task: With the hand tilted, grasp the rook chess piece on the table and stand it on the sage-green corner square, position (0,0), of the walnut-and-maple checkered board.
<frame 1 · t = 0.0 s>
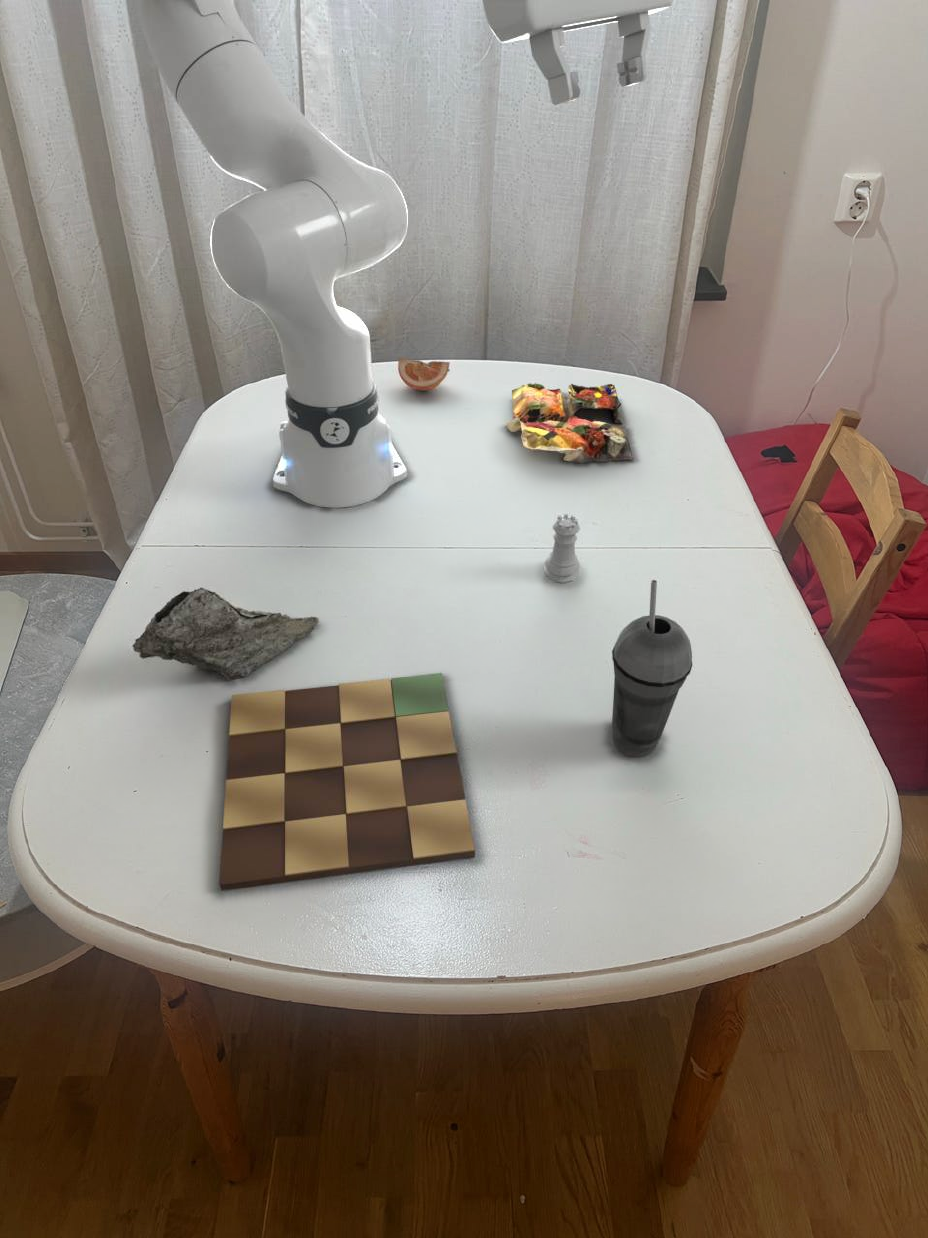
hand: (601, 92, 68), 52 cm above the table, tool tilted 20°, fingers open, 8 cm apart
beverage cup: (634, 740, 86), on the table
rook chess piece: (561, 574, 105), on the table
concrete fragment: (236, 657, 94), on the table
food: (564, 429, 132), on the table
fruit slice: (424, 390, 142), on the table
board: (344, 773, 82), on the table
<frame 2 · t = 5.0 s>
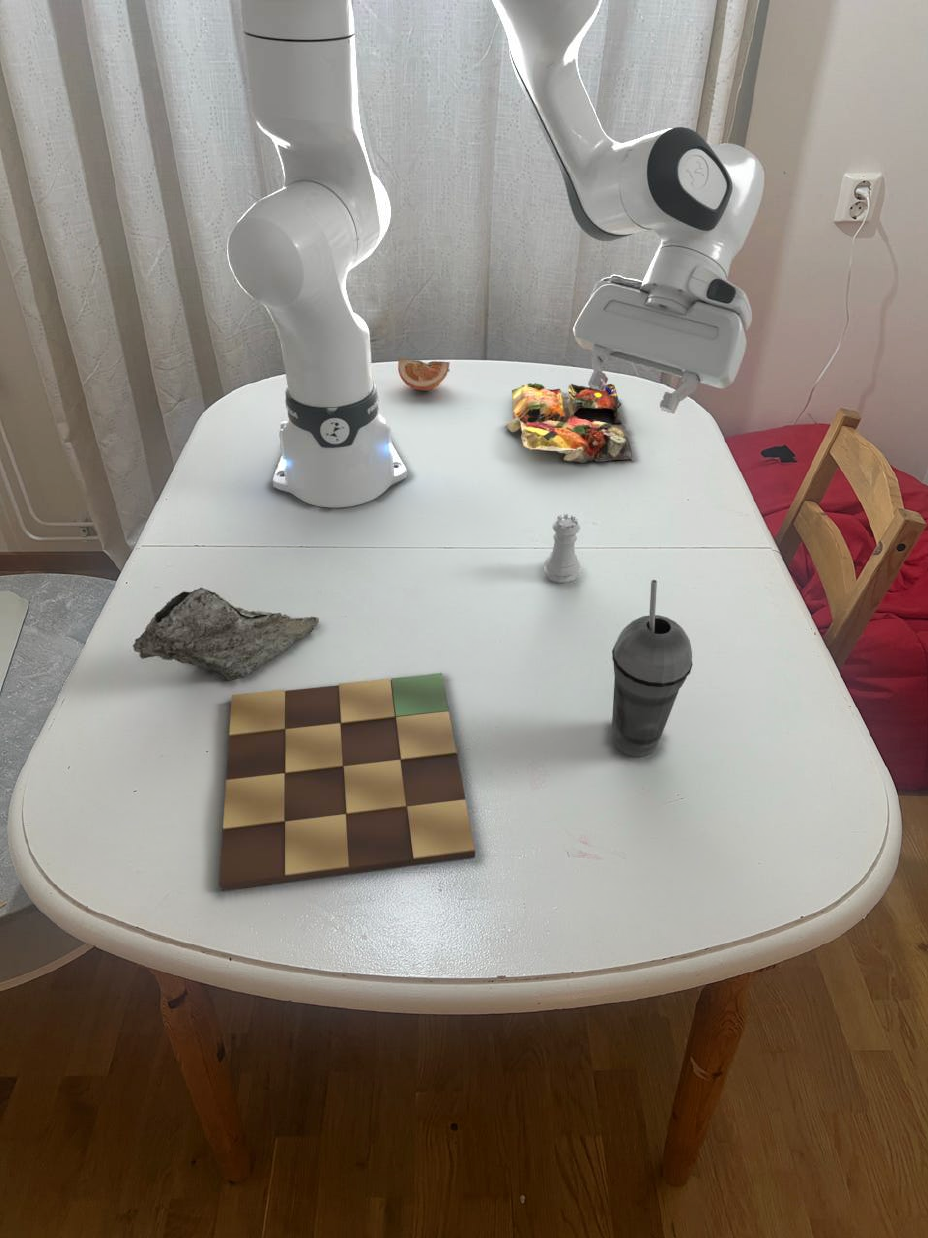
hand: (629, 399, 100), 18 cm above the table, tool tilted 45°, fingers open, 8 cm apart
nothing on the table moved.
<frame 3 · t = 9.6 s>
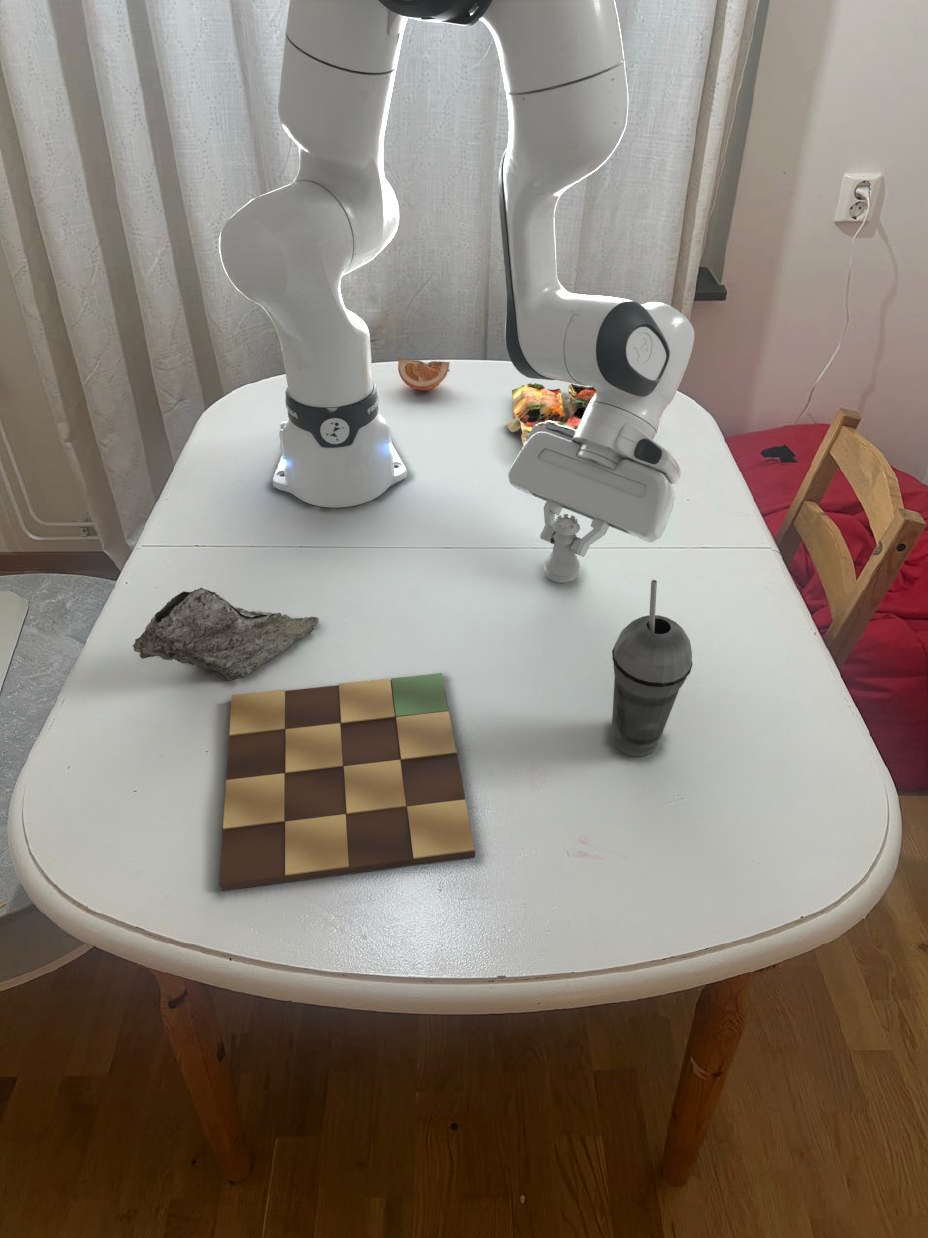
hand: (561, 547, 102), 4 cm above the table, tool tilted 45°, fingers closed on rook chess piece, 3 cm apart
rook chess piece: (561, 574, 105), on the table, touching gripper
everything else where it was.
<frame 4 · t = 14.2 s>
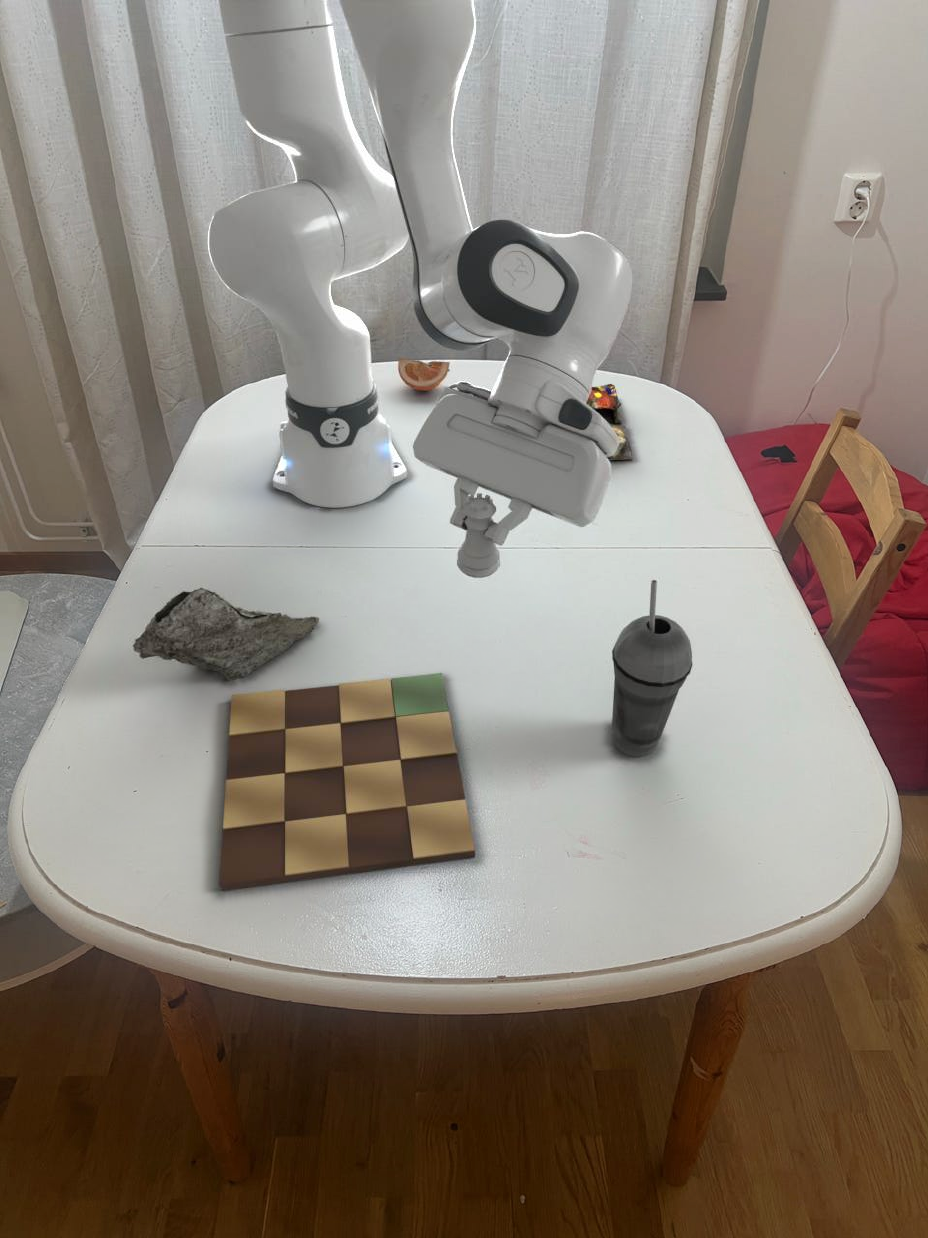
hand: (475, 534, 84), 16 cm above the table, tool tilted 45°, fingers closed on rook chess piece, 3 cm apart
rook chess piece: (478, 567, 87), point 12 cm above the table, touching gripper
everything else where it was.
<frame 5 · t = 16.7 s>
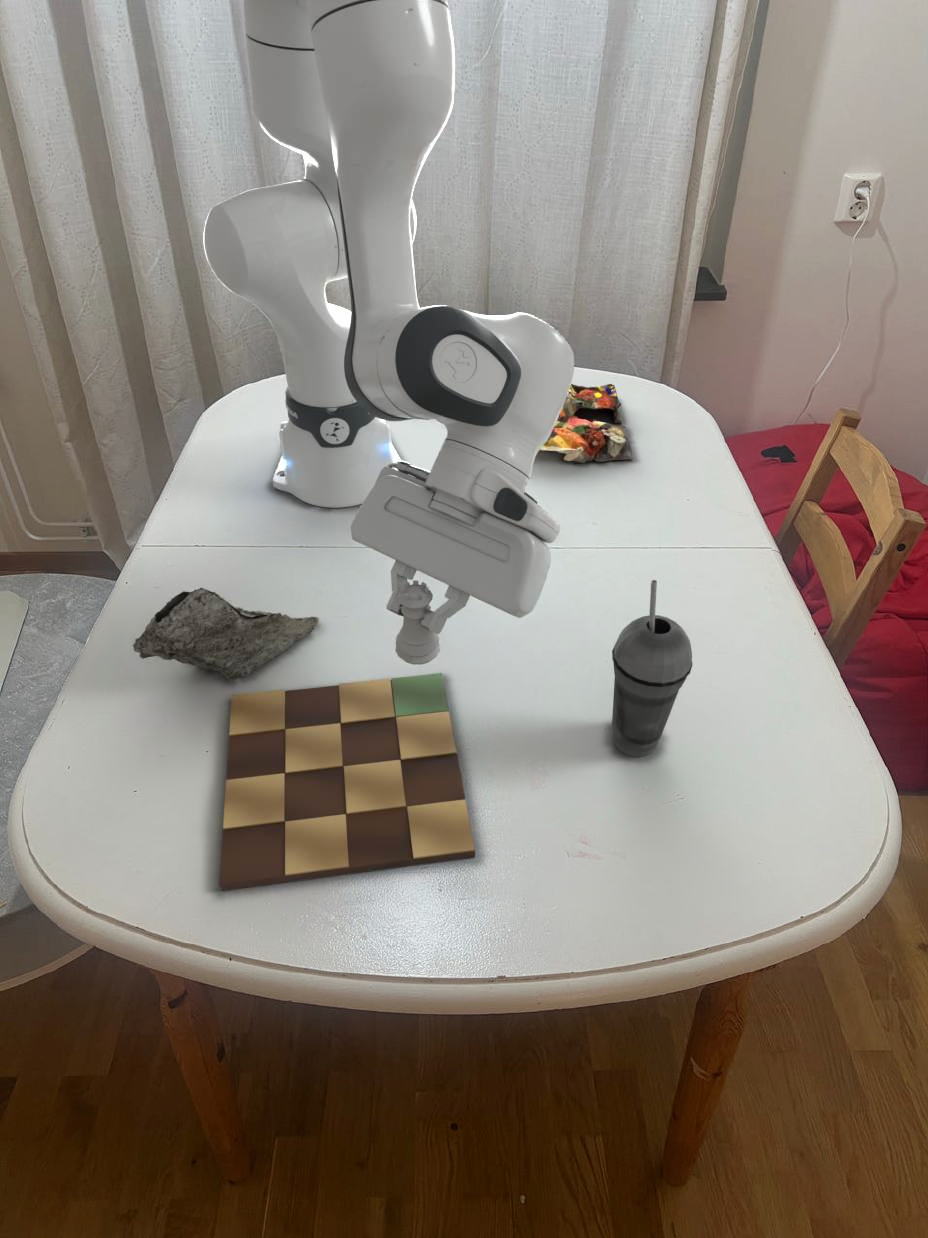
hand: (412, 622, 81), 12 cm above the table, tool tilted 45°, fingers closed on rook chess piece, 3 cm apart
rook chess piece: (418, 652, 84), point 7 cm above the table, touching gripper
everything else where it was.
when the fingers open (5 cm above the table, at t = 18.7 s): rook chess piece stays where it is, resting on board.
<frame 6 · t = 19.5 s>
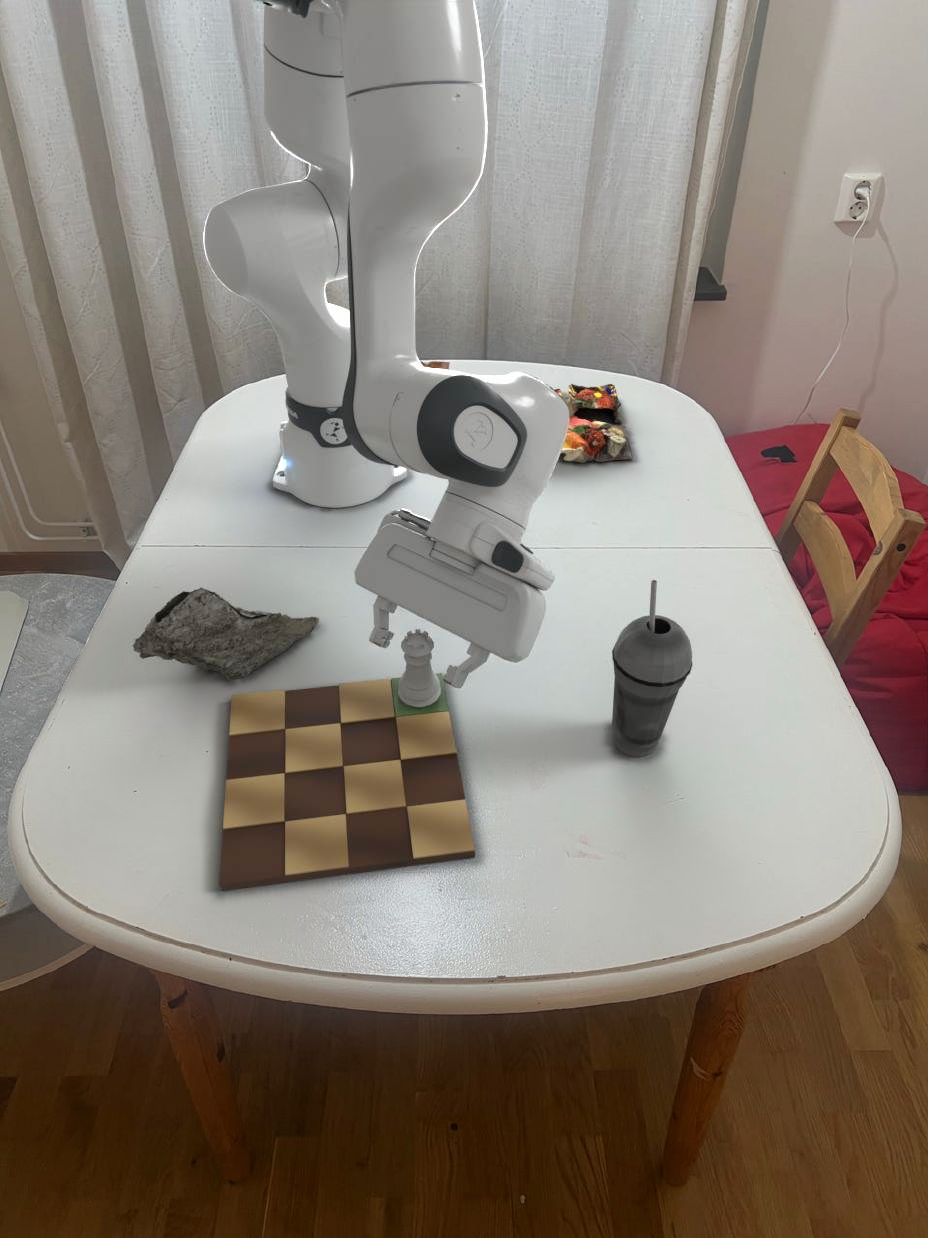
hand: (413, 664, 85), 6 cm above the table, tool tilted 45°, fingers open, 8 cm apart
rook chess piece: (419, 695, 88), point 1 cm above the table, touching board
everything else where it was.
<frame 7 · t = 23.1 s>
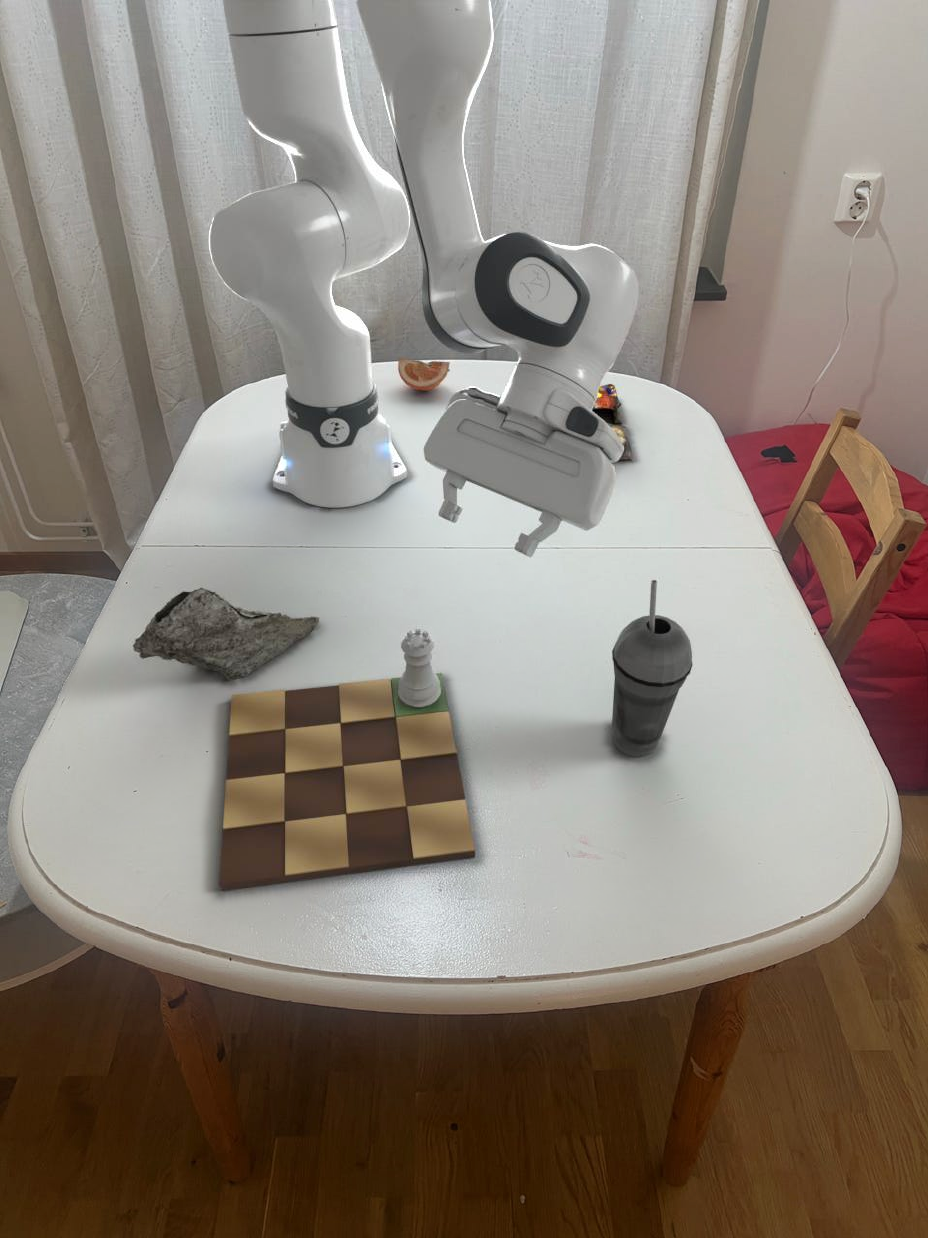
hand: (483, 536, 86), 15 cm above the table, tool tilted 45°, fingers open, 8 cm apart
nothing on the table moved.
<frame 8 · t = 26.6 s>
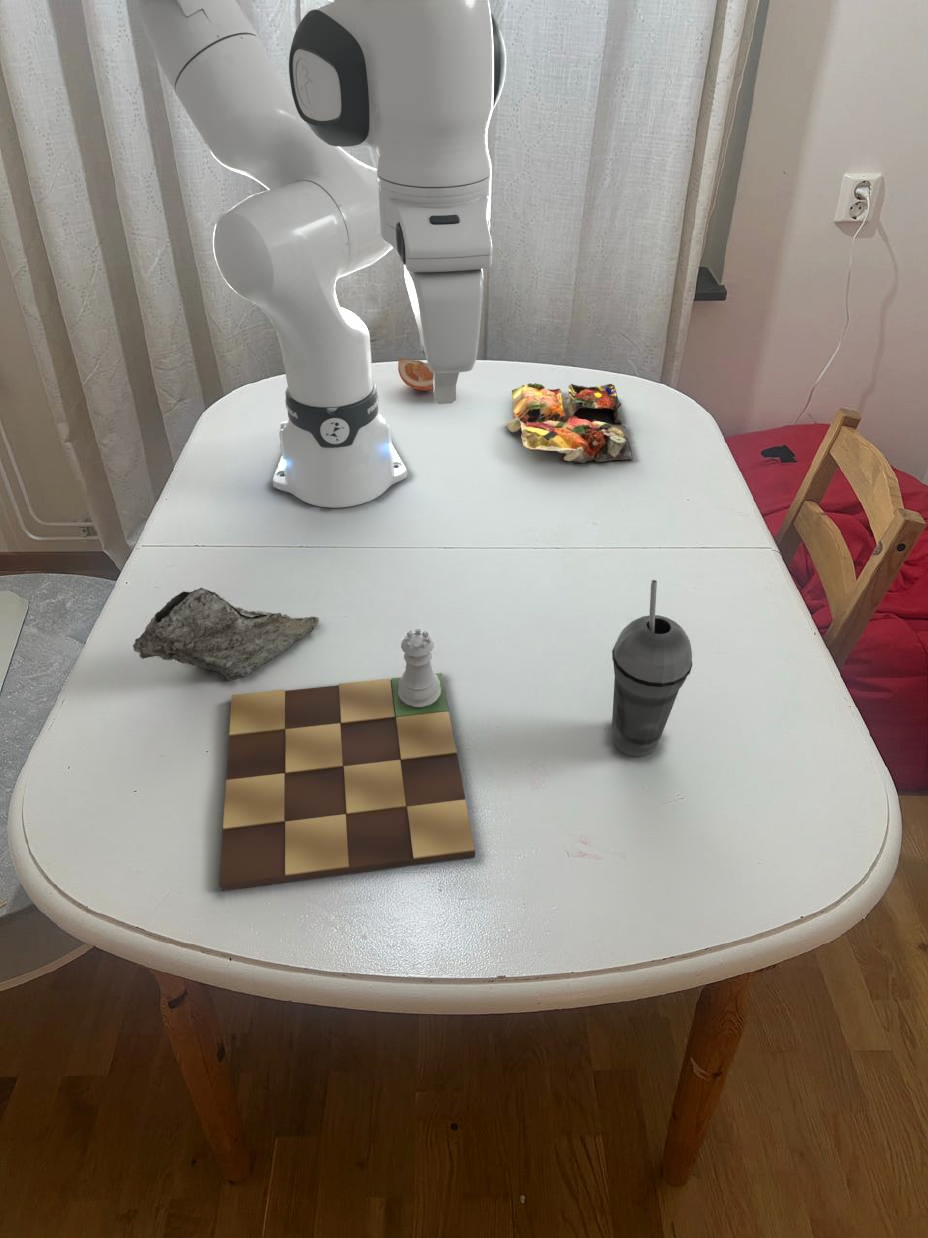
hand: (437, 375, 77), 31 cm above the table, tool pointing down, fingers open, 8 cm apart
nothing on the table moved.
at the end: rook chess piece 0.1 cm from the target spot on the board, point 1.0 cm above the board's base; rook chess piece tilted 0°; the gripper is holding nothing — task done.
